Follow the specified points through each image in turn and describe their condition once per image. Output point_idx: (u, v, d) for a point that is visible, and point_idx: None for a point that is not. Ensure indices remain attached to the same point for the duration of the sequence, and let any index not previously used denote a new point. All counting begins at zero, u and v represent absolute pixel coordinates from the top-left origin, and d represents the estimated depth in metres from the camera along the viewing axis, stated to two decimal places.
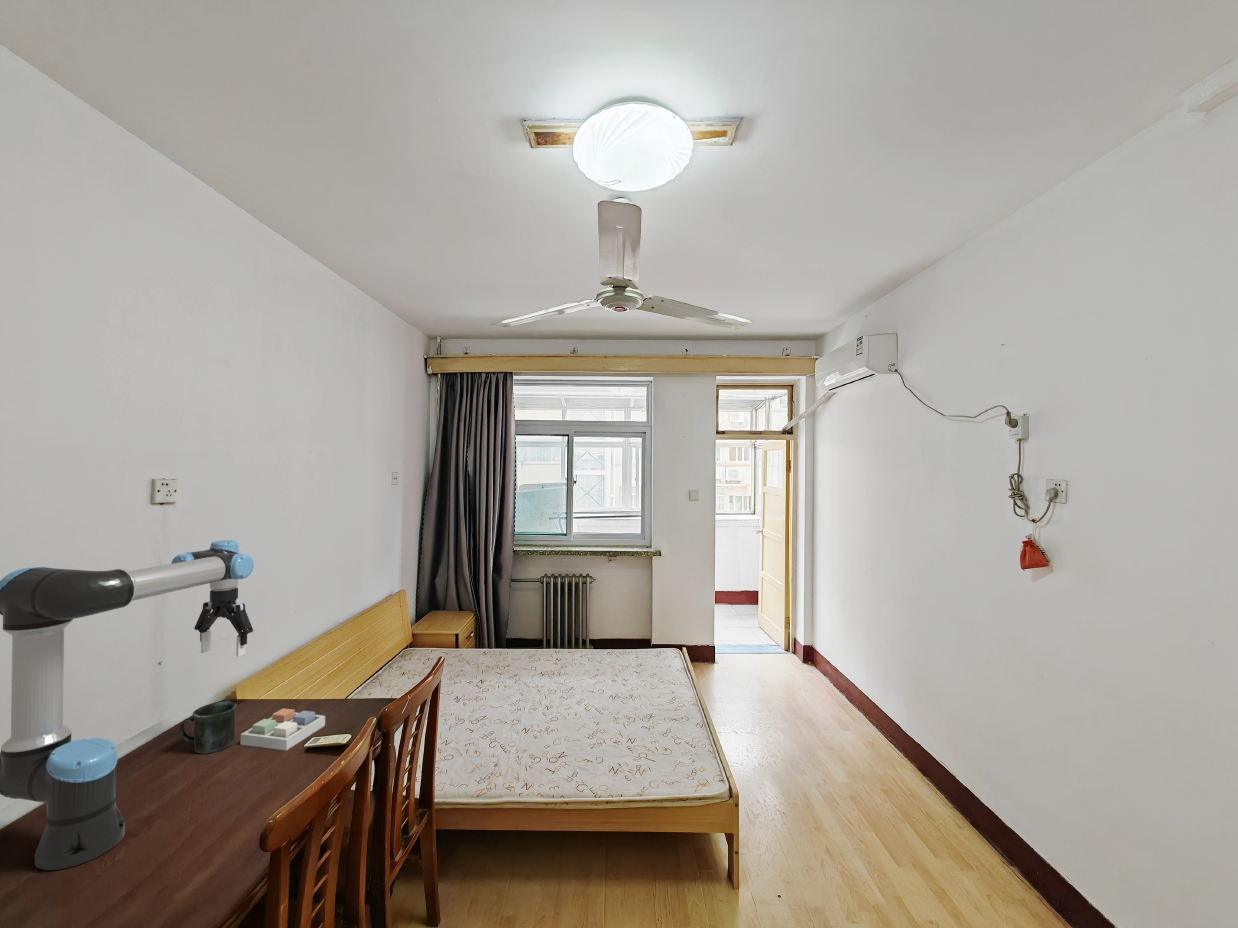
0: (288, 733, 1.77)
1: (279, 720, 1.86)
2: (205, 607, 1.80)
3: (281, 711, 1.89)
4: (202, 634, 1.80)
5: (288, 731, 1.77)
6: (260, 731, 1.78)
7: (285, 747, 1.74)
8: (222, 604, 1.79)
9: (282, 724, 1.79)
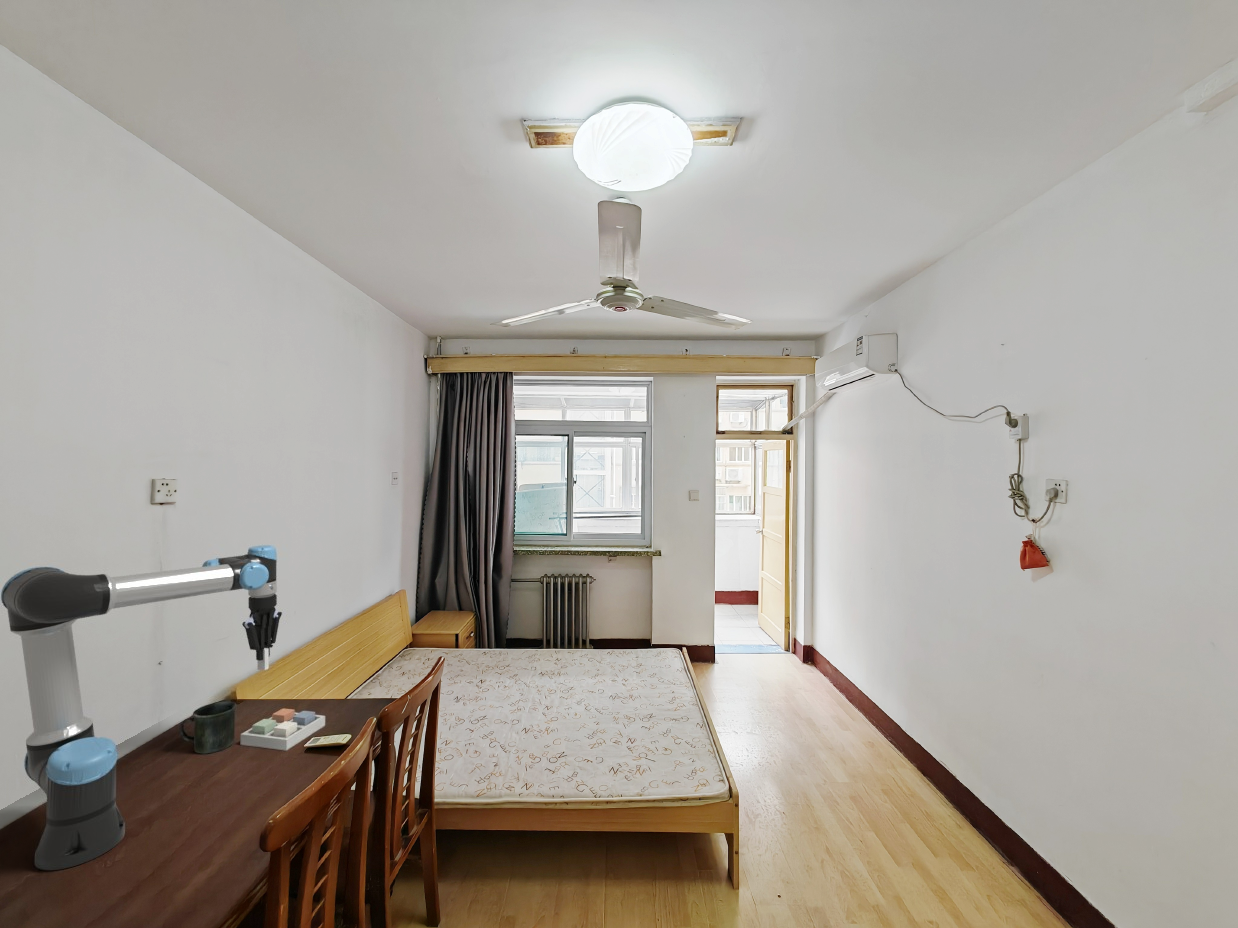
0: (288, 733, 1.77)
1: (279, 720, 1.86)
2: None
3: (281, 711, 1.89)
4: None
5: (288, 731, 1.77)
6: (260, 731, 1.78)
7: (285, 747, 1.74)
8: None
9: (282, 724, 1.79)
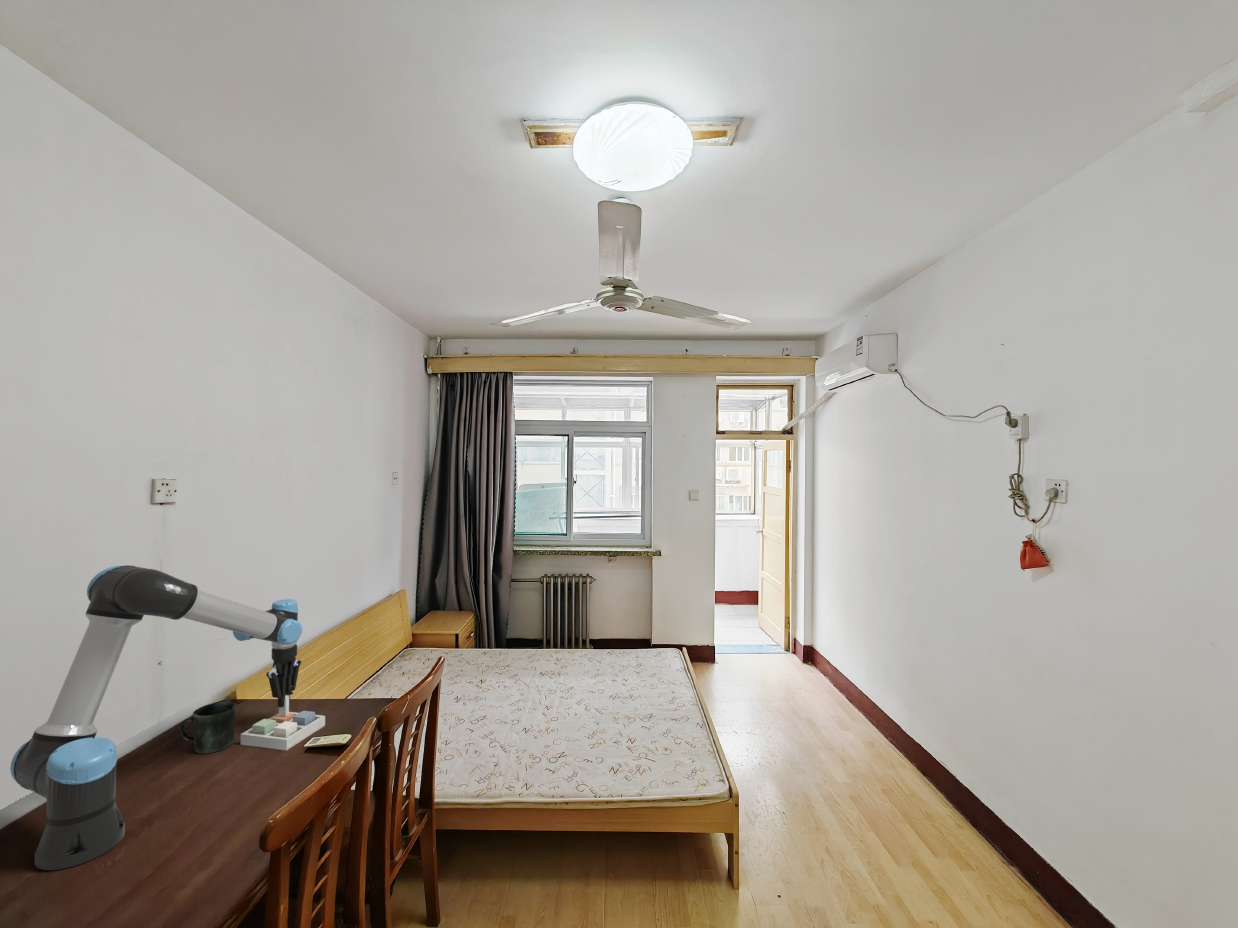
0: (288, 733, 1.77)
1: None
2: None
3: None
4: None
5: (288, 731, 1.77)
6: (260, 731, 1.78)
7: (285, 747, 1.74)
8: None
9: (282, 724, 1.79)
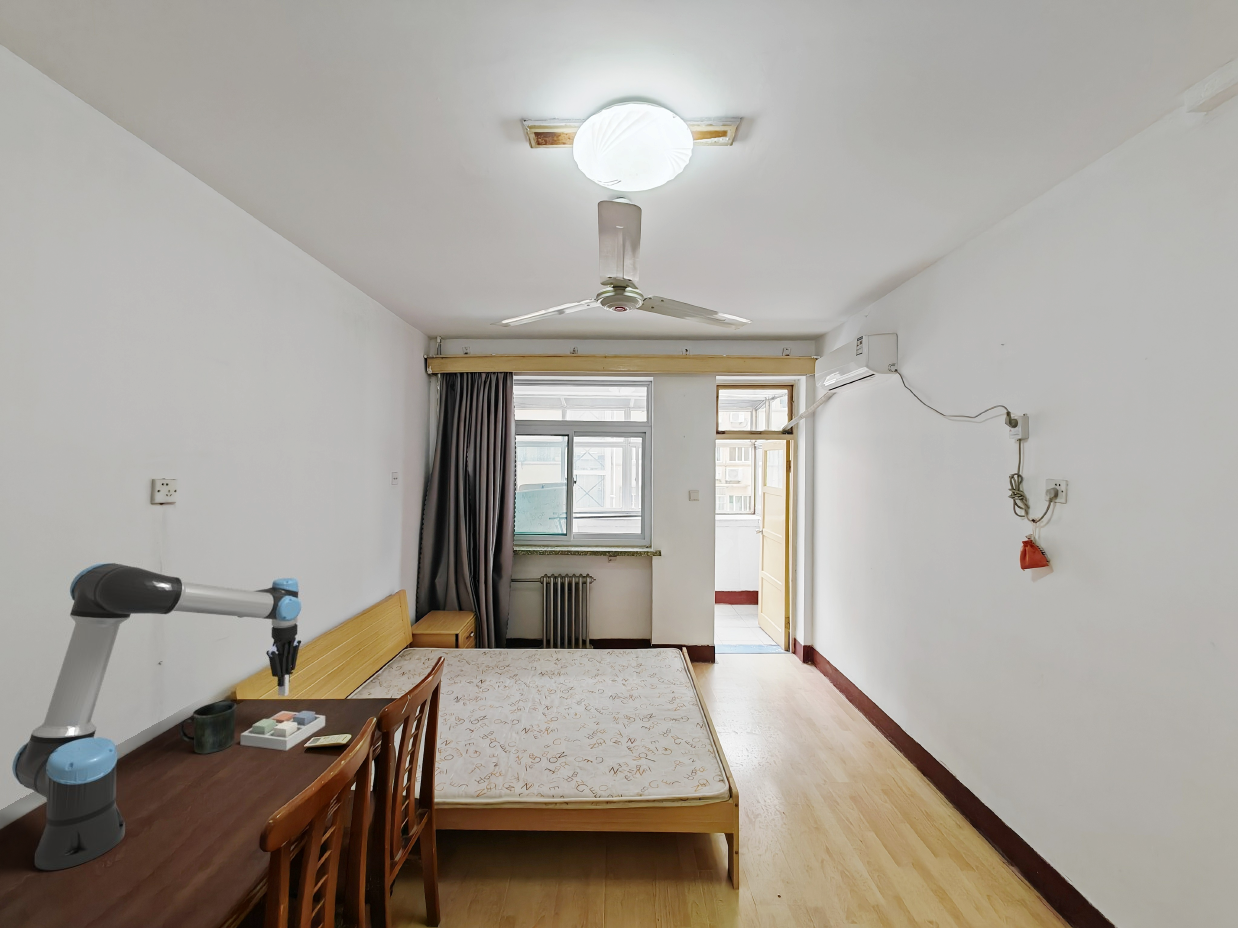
0: (288, 733, 1.77)
1: None
2: None
3: (281, 715, 1.89)
4: None
5: (288, 731, 1.77)
6: (260, 731, 1.78)
7: (285, 747, 1.74)
8: None
9: (282, 724, 1.79)
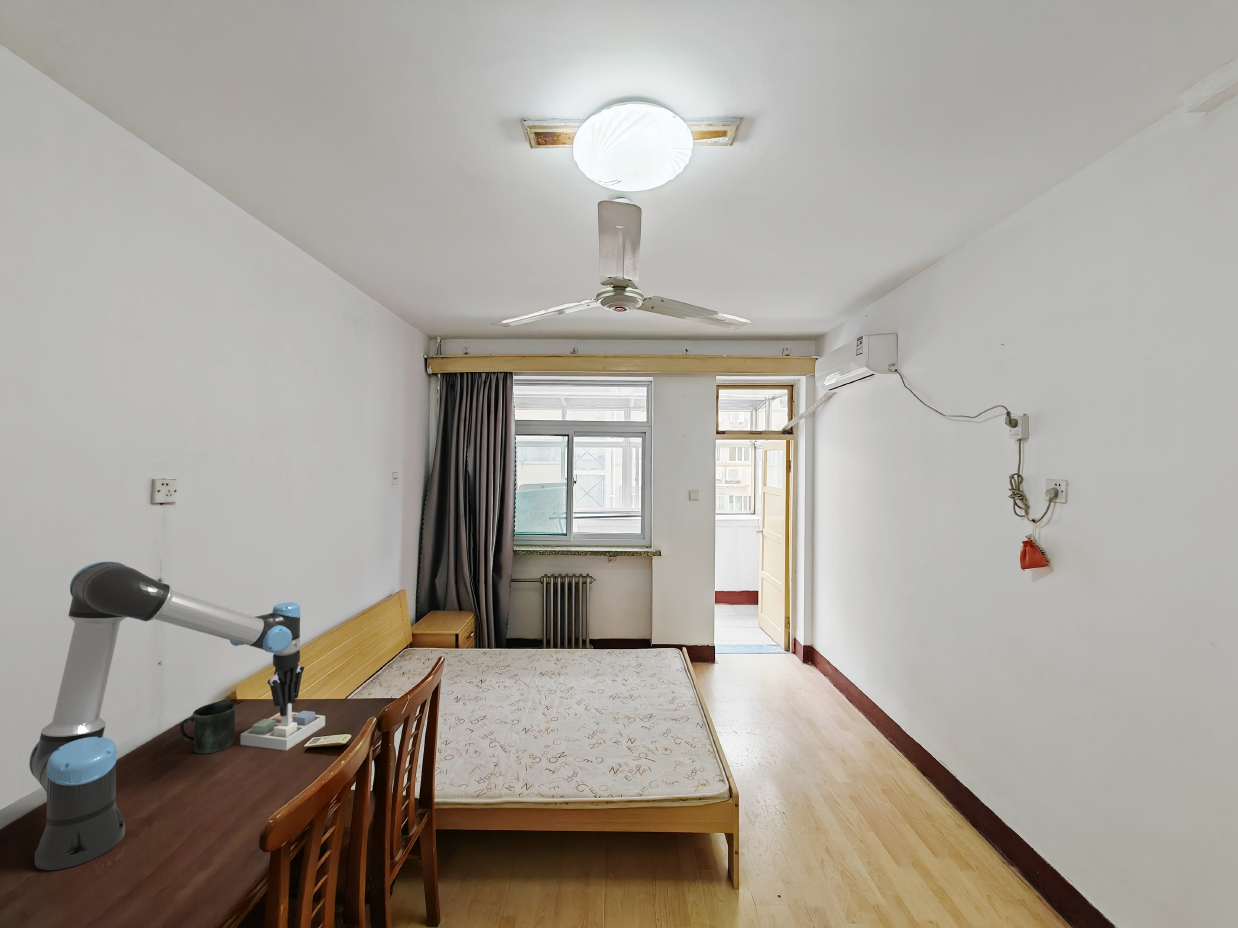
0: (288, 733, 1.77)
1: None
2: None
3: None
4: None
5: (288, 731, 1.77)
6: (260, 731, 1.78)
7: (285, 747, 1.74)
8: None
9: None
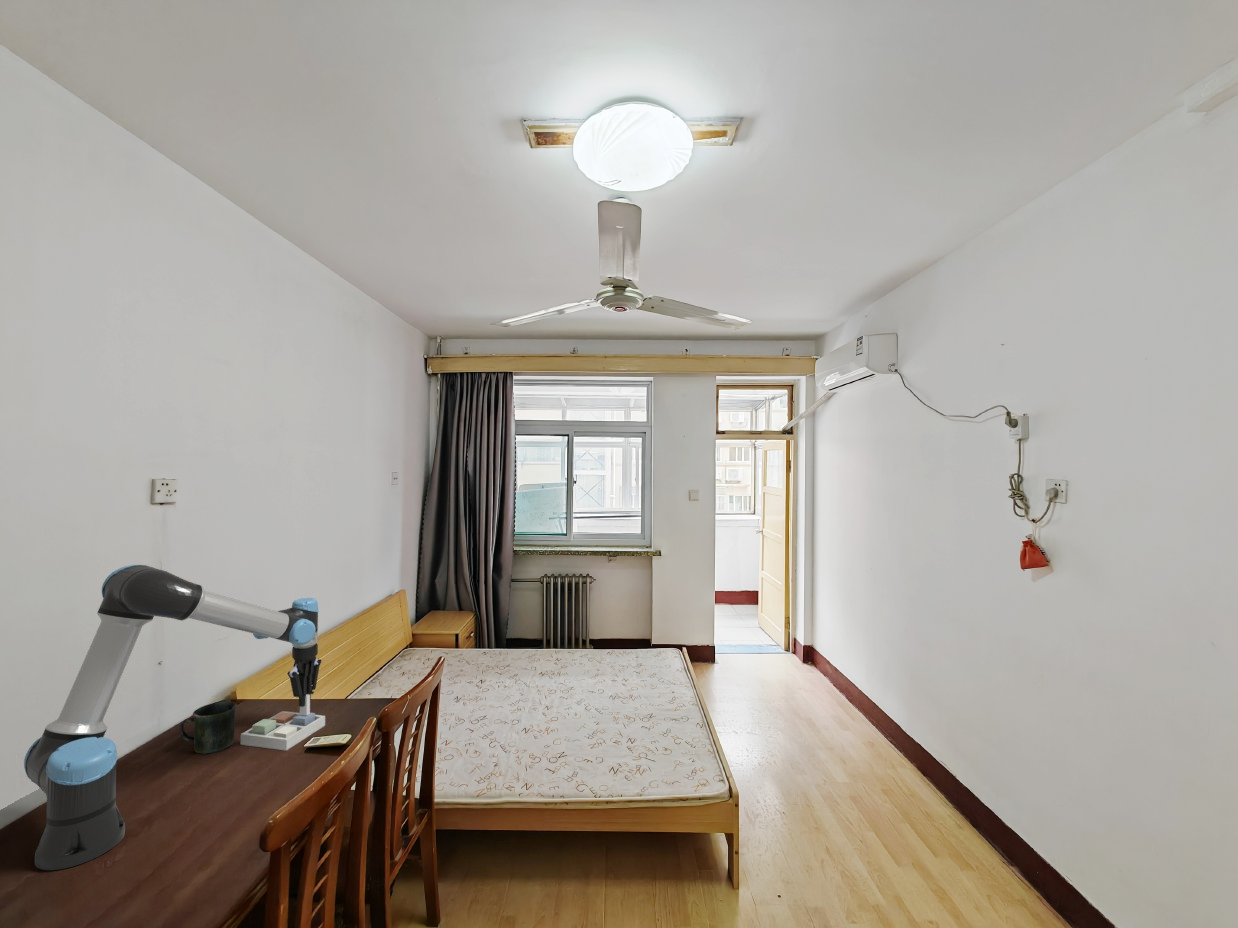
0: None
1: None
2: None
3: (281, 715, 1.89)
4: None
5: (288, 735, 1.77)
6: (260, 731, 1.78)
7: (285, 747, 1.74)
8: None
9: (282, 729, 1.79)
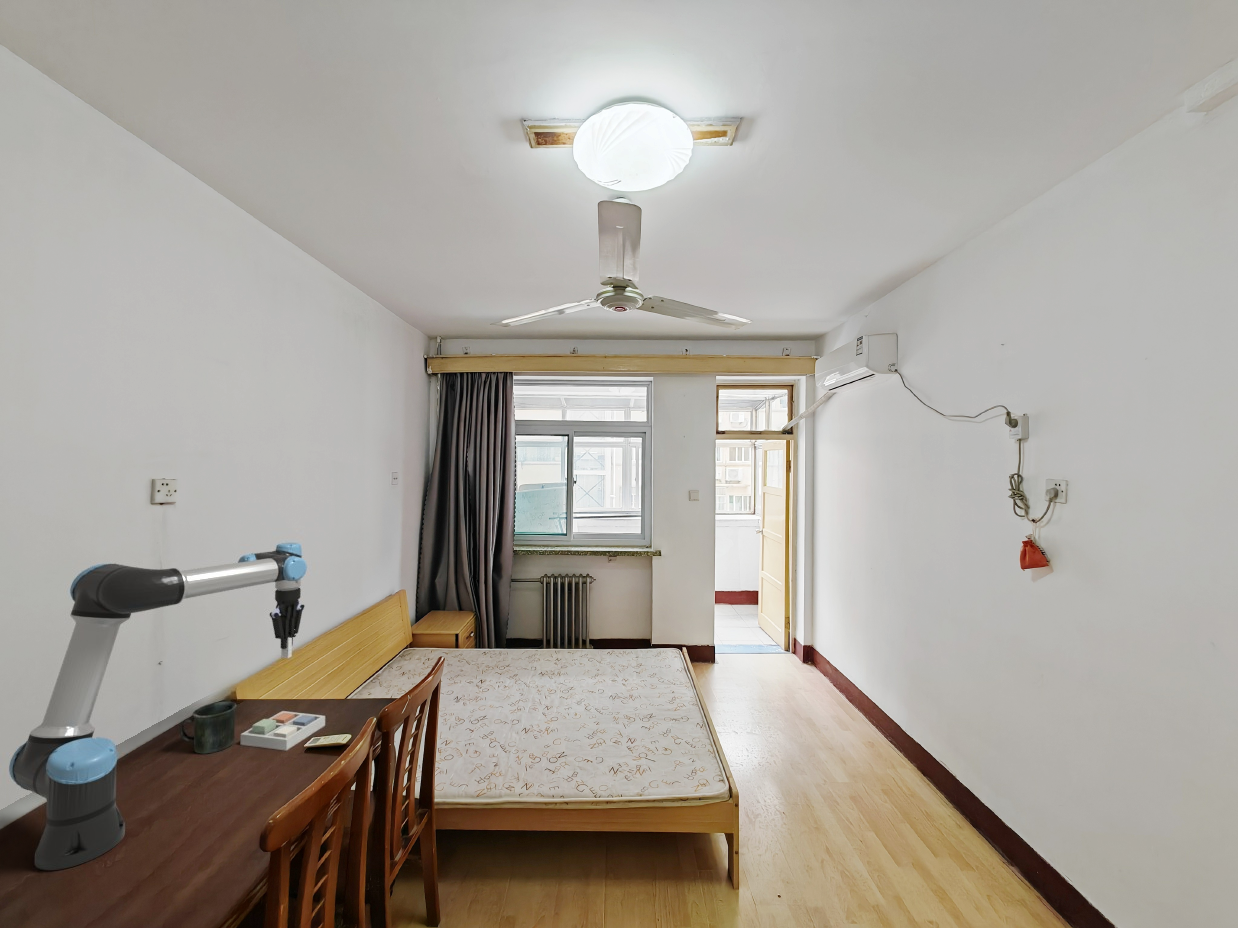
0: None
1: None
2: None
3: (281, 715, 1.89)
4: None
5: (288, 735, 1.77)
6: (260, 731, 1.78)
7: (285, 747, 1.74)
8: None
9: (282, 729, 1.79)
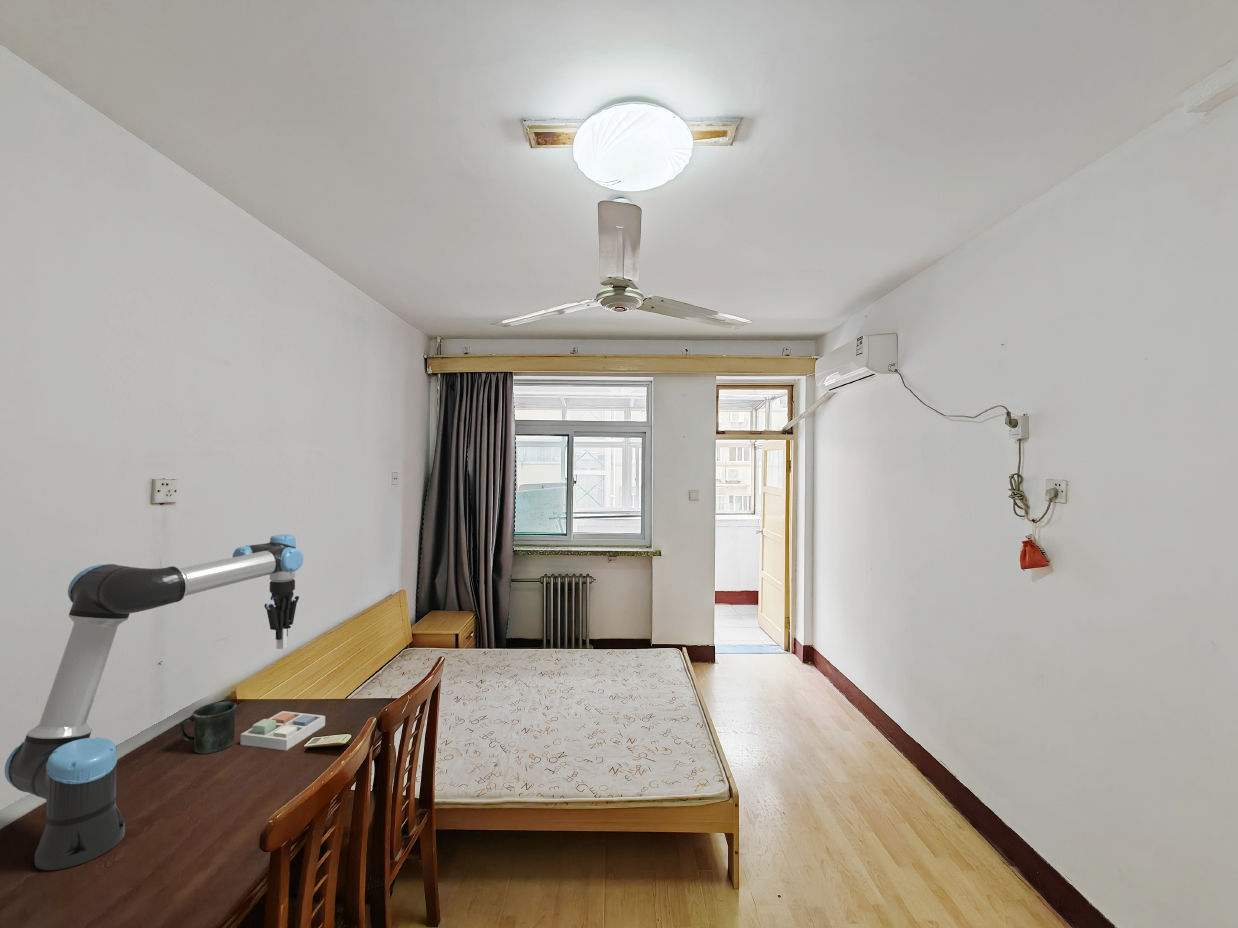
0: None
1: None
2: None
3: (281, 715, 1.89)
4: None
5: (288, 735, 1.77)
6: (260, 731, 1.78)
7: (285, 747, 1.74)
8: None
9: (282, 729, 1.79)
